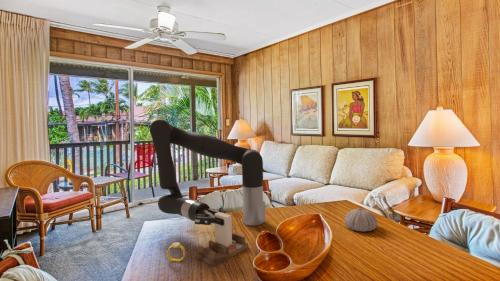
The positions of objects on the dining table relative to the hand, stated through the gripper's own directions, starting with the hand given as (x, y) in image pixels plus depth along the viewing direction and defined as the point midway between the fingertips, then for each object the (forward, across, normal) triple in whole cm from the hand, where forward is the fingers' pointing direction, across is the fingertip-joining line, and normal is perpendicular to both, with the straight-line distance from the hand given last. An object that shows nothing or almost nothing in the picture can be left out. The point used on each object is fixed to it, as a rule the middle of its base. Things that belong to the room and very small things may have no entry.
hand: (226, 221), depth 96 cm
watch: (-11, -14, +13) cm, 21 cm away
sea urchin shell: (+29, +52, +12) cm, 60 cm away
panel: (-2, 0, +10) cm, 10 cm away
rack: (-3, 0, +12) cm, 12 cm away
